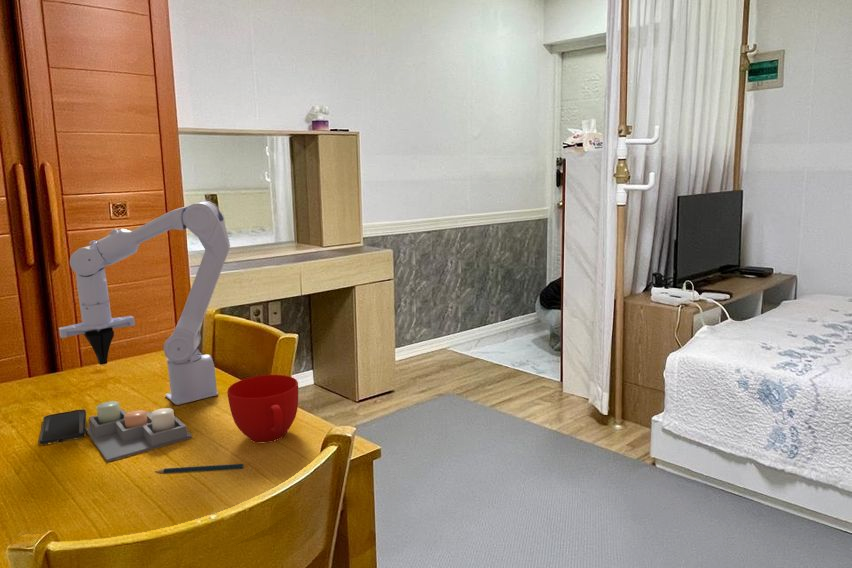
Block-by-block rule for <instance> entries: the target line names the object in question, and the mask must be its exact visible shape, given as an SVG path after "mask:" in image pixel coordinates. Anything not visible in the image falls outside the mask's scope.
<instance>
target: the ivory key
mask: <svg viewBox="0 0 852 568" xmlns="http://www.w3.org/2000/svg"><path fill="white" fill-rule="evenodd" d="M152 411H153V412H152ZM152 411H151V412H152V413H151V420H152V428H153V432H155V433H157V432H161V431H165V430H168V429H172V428H175V420H174V417H175V413H174V409H172V408H171V407H163V408H159V409H156V410H152Z"/></svg>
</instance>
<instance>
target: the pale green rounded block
mask: <svg viewBox="0 0 852 568" xmlns="http://www.w3.org/2000/svg"><path fill="white" fill-rule="evenodd" d="M120 410H121V407H120V402H119V401H115V400H110V401H104V402H102V403H99V404H97V405H96V411H97V413H96V414H97V415H98V420H99V424H105V423H109V422H113V421H117V420H121V414H120Z"/></svg>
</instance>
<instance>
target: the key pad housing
mask: <svg viewBox="0 0 852 568" xmlns="http://www.w3.org/2000/svg"><path fill="white" fill-rule="evenodd" d="M153 411H154V410H152V411H149V412H146V413H147V421H148V423H147V424H144V425H140V426H136V427H132V428H128V429H126V428H125V420H124V415H125V414H126V413H127V412H126V411H125V410H124V409H123V408H122V409H121V408H120V414H121V420H117V421H113V422H109V423H105V424H99V420H98V414H96V415H93V416H90V417H88V422H89V427H85V433H87V435H88V436H89V438H90V439H91V440H92V442H93V443H94V445H95V446H96V448H97V450H98V451H99V452H100V453H101V456H103V457H104V460H105V461H106V462H107V463H110V462H112V461H116V460H119V459H120V460H121V459H122V458H127V457H131V456H134V455H138V454H141V453H145V452H148V451H151V450H155V449H159V448H162V447H165V446H170V445H172V444H176V443H181V442H183V441H187V440H191V439H193V435H192V434H191V433H190V432H189V431H188V429H187V425H186V424H184V423H183V422H182V420H180V419H179V418H178V417H177V416H175V415H174V420H175V428H172V429H168V430H165V431H161V432H157V433H155V432H153V428H152V420H151V413H152V412H153Z"/></svg>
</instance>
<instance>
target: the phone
mask: <svg viewBox="0 0 852 568" xmlns="http://www.w3.org/2000/svg"><path fill="white" fill-rule="evenodd" d="M86 421H87V411H86V409H84V408H81V409H75V410H70V411H64V412H58V413H53V414H48V415H45V416H43V420H42V424H41V429H40V433H39V438H38V442H39V445H40V444H47V445H49V444H48V443H52V444H55V443H54V442H57V443H60V442H59V441H62V442H66V441H67V440H68V441H72V440H71V439H73V440H78V439H81V438H83V437H85V436H86V429H85V428H86V426H87V425H86Z"/></svg>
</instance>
